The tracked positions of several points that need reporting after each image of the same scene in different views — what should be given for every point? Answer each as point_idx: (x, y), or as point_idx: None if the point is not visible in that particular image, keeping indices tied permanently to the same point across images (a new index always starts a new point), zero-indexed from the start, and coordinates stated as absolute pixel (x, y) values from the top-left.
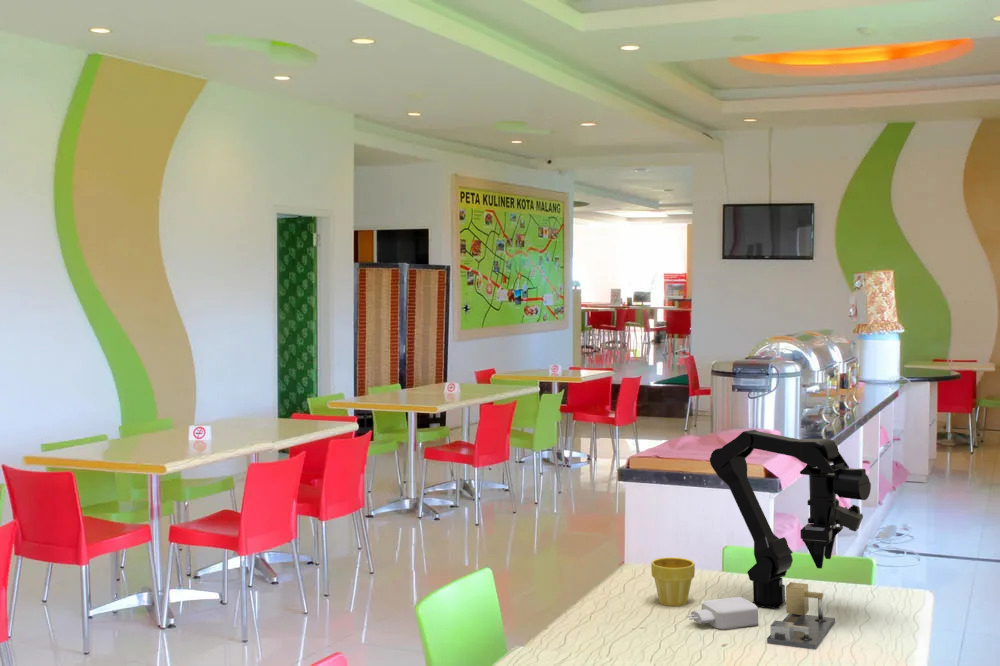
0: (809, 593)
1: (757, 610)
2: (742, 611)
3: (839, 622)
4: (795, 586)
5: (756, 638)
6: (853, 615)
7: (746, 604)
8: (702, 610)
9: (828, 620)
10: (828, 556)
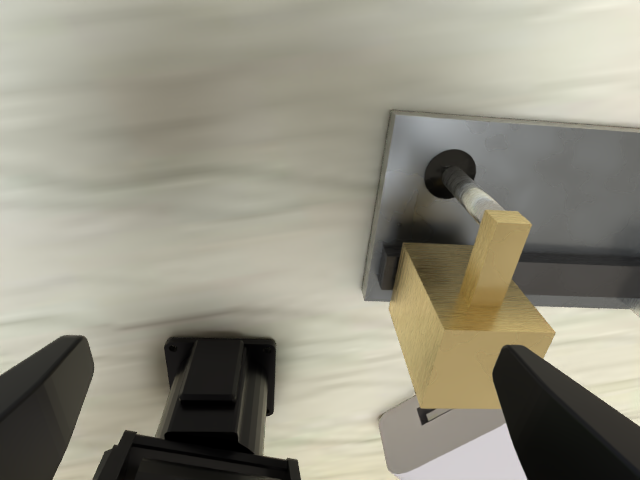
0: (507, 288)
1: None
2: None
3: (384, 88)
4: None
5: (625, 334)
6: (233, 28)
7: (508, 442)
8: None
9: (446, 139)
10: (77, 369)
